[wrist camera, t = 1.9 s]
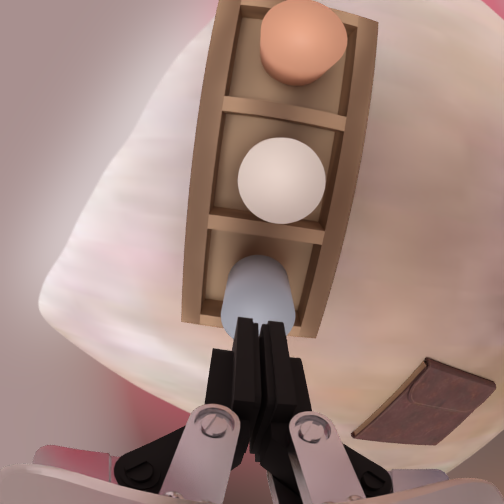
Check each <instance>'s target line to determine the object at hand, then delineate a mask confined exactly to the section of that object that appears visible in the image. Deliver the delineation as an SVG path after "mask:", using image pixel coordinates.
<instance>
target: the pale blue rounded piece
mask: <svg viewBox="0 0 504 504" xmlns="http://www.w3.org/2000/svg"><path fill="white" fill-rule="evenodd" d="M238 317H245V318H253V323H258V329H259V335H260V330H261V326H262V324H267V323H268V321H277V322H283V323H284V327H285V333H286V336H287V335H288V333H289V332H290V331H291V329H292V327H293V325H294V322H295V309H294V304H293V299H292V294H291V289H290V284H289V280H288V275H287V272H286V270H285V269H284V267H283V266H282V265H281V264H280V263H279V262H278V261H277V260H275V259H273V258H271V257H268V256H264V255H252V256H248V257H245V258H243V259H241V260H239V261H238V262H237V263H236V264H235V265H234V266H233V267H232V268H231V270H230V272H229V275H228V279H227V284H226V290H225V295H224V300H223V305H222V310H221V322H222V325H223V327H224V329H225V331H226V332H227V333H228V335H229V336H230V337H232V338H233V339H234V336H235V330H236V324H237V319H238Z"/></svg>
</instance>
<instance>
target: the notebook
mask: <svg viewBox="0 0 504 504" xmlns="http://www.w3.org/2000/svg"><path fill="white" fill-rule="evenodd" d="M425 360H426V361H427V362H425V361H423V362H422V363H421V364H420V366H419V367H418V368H417V369H416V370H415V371H414V372H413V374H412V375H411V376H410V377H409V378H408V379H407V380H406V381H405V382H404V383H403V384H402V385H401V387H400V388H399V389H398V390H397V391H396V392H395V393H394V394H393V395H392V396H391V397H390V398H389V399H388V400H387V401H386V402H385V403H384V404H383V405H382V406H381V407H380V408H379V409H378V410H377V411H376V412H375V413H374V414H372V415H371V416H370V417H369V418H368V419H367V420H366V421H365V422H364V423H363V424H362V425H360V426H359V427H358V428H357V429H356V430H355V431H354V432H352V433H351V436H352V437H353V438H355V439H362V440H370V441H379V442H388V443H400V444H415V445H437V444H438V443H439V442H440V441H442V440H443V439H444V438H445V437H446V436H447V435H448V434H450V433H451V432H452V431H453V430H454V429H455V428H456V427H457V426H458V425H460V424H461V423H462V422H463V421H464V420H465V419H466V418H467V417H468V416H469V415H470V414H471V413H472V412H473V411H474V410H475V409H476V408H477V407H479V406H480V405H481V404H482V403H483V402H484V401H485V400H486V399H487V398H488V397H489V396H490V395H491V394H492V393H493V392H494V390H495V389H496V384H495V383H494V382H492V381H489V380H487V379H484V378H481V377H478V376H475V375H472V374H469V373H467V372H464V371H461V370H458V369H455V368H453V367H450V366H447V365H444V364H442V363H439V362H436V361H434V360H431V359H428V358H425Z"/></svg>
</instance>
